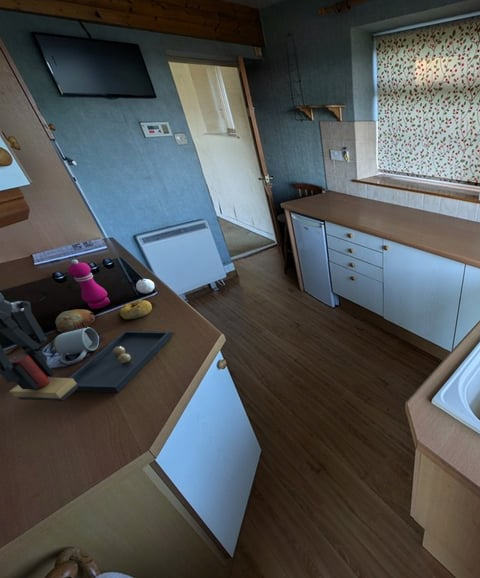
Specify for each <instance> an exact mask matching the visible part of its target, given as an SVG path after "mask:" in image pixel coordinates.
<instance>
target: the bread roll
mask: <svg viewBox="0 0 480 578" xmlns="http://www.w3.org/2000/svg"><path fill="white" fill-rule="evenodd" d="M95 320H96V316H95V314H94V313H93V312H92V311H90V310H88V309H77V308H76V309H72V310H65V311H62V312H61V313H60V314H59V315H58V316H56V319H55V321H54V323H55V326H56V329H57V332H59V333H61V334H63V333H66V332H71V331H75V330H79V329H83V328H86V327H87V328H88V327H90V326H92V324H93V323H94V322H95Z"/></svg>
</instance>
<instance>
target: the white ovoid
mask: <svg viewBox="0 0 480 578" xmlns="http://www.w3.org/2000/svg"><path fill="white" fill-rule="evenodd" d="M137 279H138V281H137V282H136V284H135V287H136V290H137V291H138V292H139V293H141V294H149V293H152V292H153V291H154V289H155V287H156V286H155V283H154V281H152V280H151V279H147V278H140V277H137Z"/></svg>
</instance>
